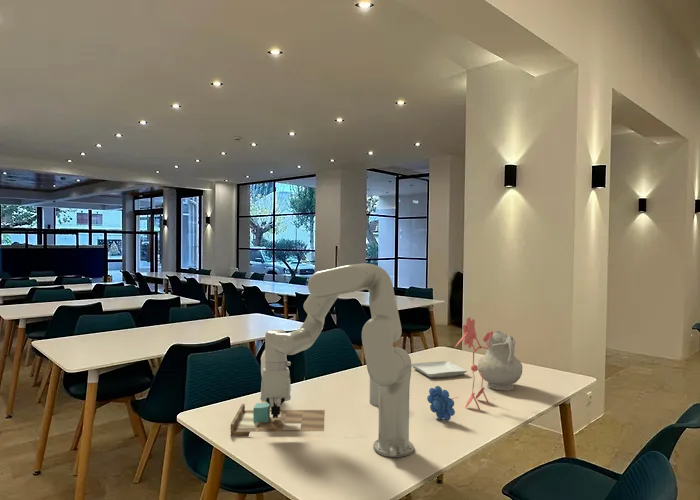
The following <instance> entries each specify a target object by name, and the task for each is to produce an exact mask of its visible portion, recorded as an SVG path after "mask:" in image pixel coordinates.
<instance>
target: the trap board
mask: <svg viewBox="0 0 700 500" xmlns="http://www.w3.org/2000/svg"><path fill="white" fill-rule="evenodd" d="M245 405H246V403H241V405H240V407H239V409H238V410H237V412H236V414H235V416H234V417H233V419H232V421H231V423H230V437H249V435H250V433H253V432H257V433H258V432H268V433H269V432H270V433H271V432H324V431H325V417H326V416H325V414H326V413H325V411H326V410H325V409H280V416H278V418H273V416H270V418H269V420H268V422H253V411H254V409H252V410H245V409H246V406H245ZM270 412H271V409H270ZM284 424H300V429H284V426H285V425H284Z"/></svg>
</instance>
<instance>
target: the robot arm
mask: <svg viewBox="0 0 700 500" xmlns="http://www.w3.org/2000/svg"><path fill="white" fill-rule="evenodd" d="M307 288H308V291H309V295H308V296H307V298H306V300H304V303H303V306H302V307H303V309H304V311H305V313H306V314H307V316H306V318H305V320H304V322H303V323H302V324H301V326H300V328H299V329H296V330H293V331H290V332H286V331H285V330H283V329H269V330H267V331H266V332H265V336H264V342H265V344H264V350H265V368H264V369H263V374H262V375H261V383H260V384H261V386H260V401H264V402H266V403H269V404H270V410H271V411H270V416H272V417H273V418H278V417H279V415H280V416H281V411H280V410H281V405H282V404H284V403H285V402H289V401H291V399H292V397H291V396H292V395H291V390H292V389H291V374H290V369H289V367H290V366H291V364H292V363H291V361H288V359H287V356H292V355H296V354H298V353H301V352H303V351H306V350H308V349H310V348H311V347H312V346H313V345H314V343H315V342H316V341H317V339H318V337H319V336H320V334H321V333H322V331H323V329H324V325H325V319H326V316H327V314H328V313H329V312H330V309H331V308H332V307H333V305H334V304H335V302H336V301H337V299H338V297H339V296H341V295H345V294H349V293H355V292H362V291H365V290H366V291H368V295H369V296H368V303H369V304H368V305H369V310H370V316H371V318H370V319H368V320H367V321H366V322H365V323H364V325H363V327H362V330H361V342H362V349H363V354H364V360H365V365H366V369H367V373H368V376H369V379H370V378H371V379H372V381H373V382H374V383H375V384H377V385H379V406H378V438H377V440H375V441H374V442H373V445H372V446H373V450H374V452H376V454H378V455H381V456H385V457H387V458H388V457H389V458H403V457H407V456H410V455H411V454H412V453H413V452H414V450H415V448H414V447H415V445H414V443H413V442H411V441H410V384H411V377H412V369H413V367H412V364H413V363H412V359H411V356H410V355H409V353H408V351H406V350H405V349H403V348H402V347H398V346H396V347H395V346H394V344H395V343H396V342H397V341H399V339H400V338H401V336H402V333H403V332H402V325H401V324H402V323H401V320H400V313H399V310H398V305H397V300H396V296H395V289H394V284H393V281H392V278H391V277H390V275H389V273H388V272H387V271H386V270H385V269H384V268H382V267H381V266H379V265H377V264H373V263H369V262H368V263H364V262H363V263H353V264H347V265H342V266H338V267H335V268H334V267H333V268H330V269H325V270H319V271H316V272H314V273H313V274H312V275H311V276H310V278H309V279H308V281H307ZM288 366H289V367H288ZM275 399H277V402H275Z"/></svg>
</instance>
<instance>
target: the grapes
mask: <svg viewBox="0 0 700 500" xmlns="http://www.w3.org/2000/svg"><path fill="white" fill-rule="evenodd" d="M428 392H429V393H428V396H427V398H426V400H427V402H428V403H429V404H430V406H429V409H430V411H431V412H432V413H434V414H435V415H436V418H437V419H438V420H443V419H444V420H445V421H446V422H448V421H450V420H451V419H452V417H454V415H455V414H456V410H455V408H454V406H455V402H454V400H453V398H452V397H451V398H450V393H449V391H448V390H446V389H443V388H442V387H441V386H439V385H436V386H435V387H430V388H429V391H428ZM451 416H452V417H451Z"/></svg>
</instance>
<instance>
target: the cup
mask: <svg viewBox="0 0 700 500" xmlns="http://www.w3.org/2000/svg"><path fill="white" fill-rule="evenodd" d="M369 404H370V405H371V406H375V407H379V385H377V384H375V383H374V382H373V381H372V379H371V378H370V377H369Z"/></svg>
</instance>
